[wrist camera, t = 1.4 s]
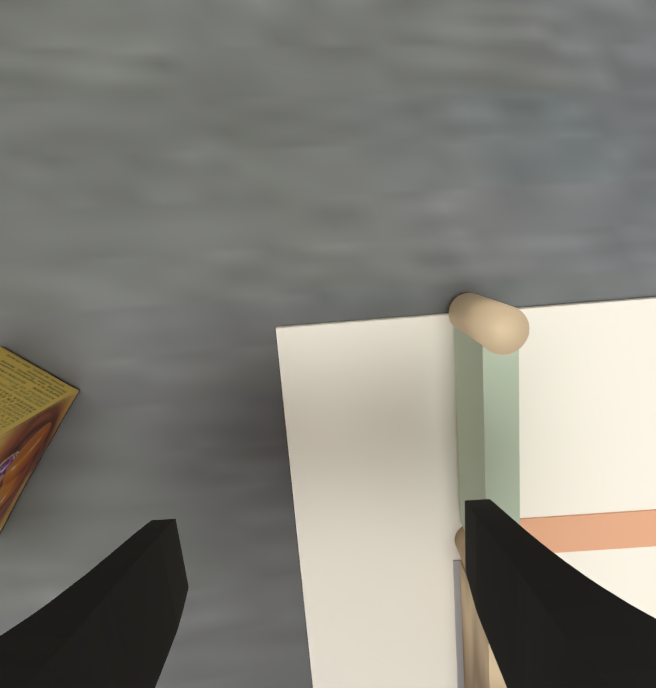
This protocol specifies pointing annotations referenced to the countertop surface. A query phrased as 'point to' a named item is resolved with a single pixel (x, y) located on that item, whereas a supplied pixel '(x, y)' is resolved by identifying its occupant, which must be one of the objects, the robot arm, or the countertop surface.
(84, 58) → the countertop surface
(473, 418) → the green and tan bar
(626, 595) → the card
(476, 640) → the fixed fence
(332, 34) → the countertop surface
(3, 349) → the candy box
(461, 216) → the countertop surface
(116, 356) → the countertop surface
